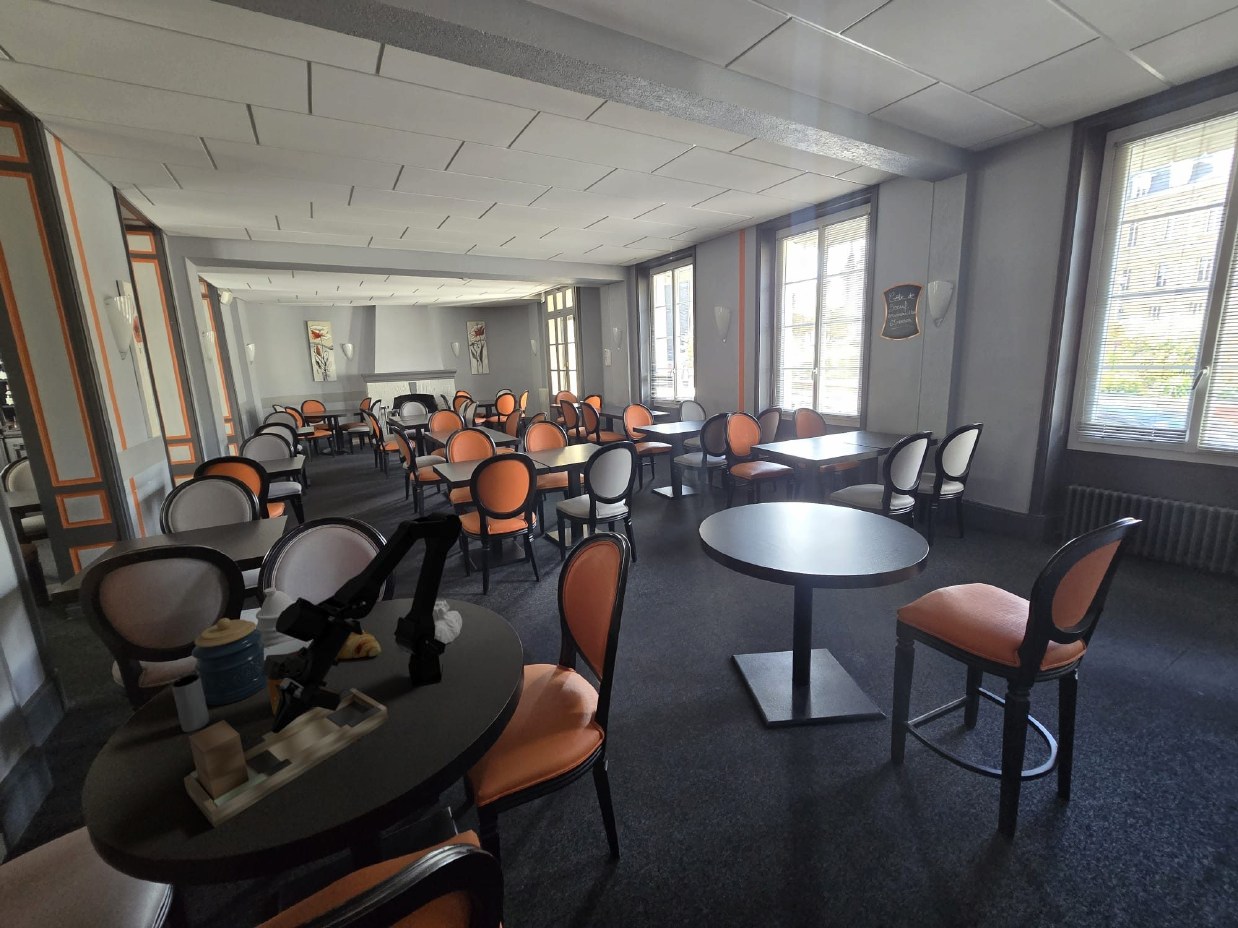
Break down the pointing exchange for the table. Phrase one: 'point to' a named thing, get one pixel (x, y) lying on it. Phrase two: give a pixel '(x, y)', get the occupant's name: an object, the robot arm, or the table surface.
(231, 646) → the canister
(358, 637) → the croissant
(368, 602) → the robot arm
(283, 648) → the small box
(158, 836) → the table surface
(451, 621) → the white lumpy piece
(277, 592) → the honey pot
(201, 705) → the planter
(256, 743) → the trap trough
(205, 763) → the walnut block
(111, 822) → the table surface
